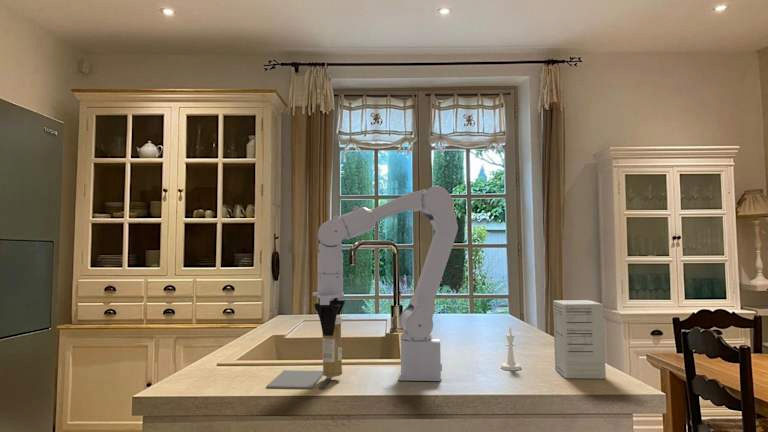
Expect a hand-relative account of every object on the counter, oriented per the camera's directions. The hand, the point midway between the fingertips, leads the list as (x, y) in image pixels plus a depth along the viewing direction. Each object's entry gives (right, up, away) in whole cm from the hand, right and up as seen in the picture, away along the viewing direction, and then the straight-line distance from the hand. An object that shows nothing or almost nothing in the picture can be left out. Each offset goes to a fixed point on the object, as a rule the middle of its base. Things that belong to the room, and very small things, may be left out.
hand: (330, 333), depth 121 cm
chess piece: (+43, -11, +10) cm, 46 cm away
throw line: (-1, -11, 0) cm, 11 cm away
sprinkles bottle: (0, -10, 0) cm, 10 cm away
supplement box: (+58, -11, +4) cm, 59 cm away
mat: (-8, -11, 0) cm, 13 cm away
